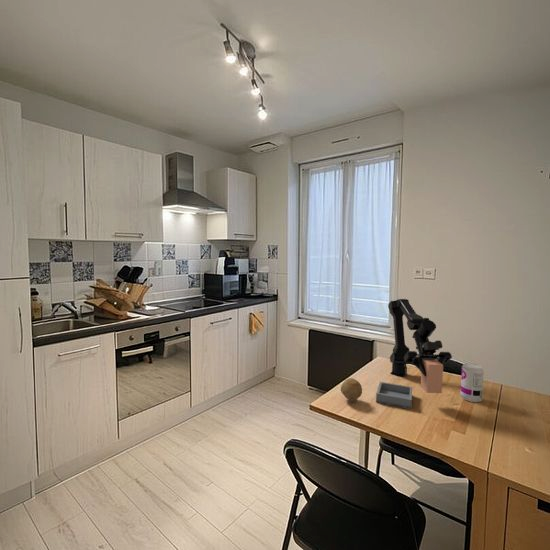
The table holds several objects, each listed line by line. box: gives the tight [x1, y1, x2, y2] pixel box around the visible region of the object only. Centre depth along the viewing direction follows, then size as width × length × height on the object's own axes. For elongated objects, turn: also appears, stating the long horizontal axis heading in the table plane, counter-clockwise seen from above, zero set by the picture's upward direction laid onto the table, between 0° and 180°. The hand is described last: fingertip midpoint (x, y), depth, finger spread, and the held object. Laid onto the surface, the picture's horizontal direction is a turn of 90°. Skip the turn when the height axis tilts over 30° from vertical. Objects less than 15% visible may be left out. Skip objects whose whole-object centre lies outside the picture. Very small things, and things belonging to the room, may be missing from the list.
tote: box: [375, 381, 413, 410], centre depth 141 cm, size 14×14×4 cm
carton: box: [420, 359, 444, 394], centre depth 135 cm, size 6×6×12 cm
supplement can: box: [459, 362, 485, 403], centre depth 142 cm, size 8×8×15 cm
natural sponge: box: [340, 377, 363, 403], centre depth 138 cm, size 9×9×10 cm
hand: (433, 375), depth 134 cm, fingers closed on carton, 6 cm apart
